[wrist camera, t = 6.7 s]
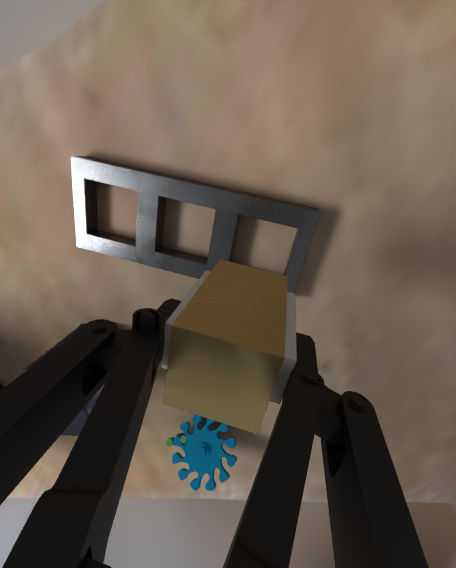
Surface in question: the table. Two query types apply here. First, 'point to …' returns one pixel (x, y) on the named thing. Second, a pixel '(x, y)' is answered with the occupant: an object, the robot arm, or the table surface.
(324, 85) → the table surface
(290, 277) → the grey flat frame
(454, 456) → the table surface
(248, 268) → the olive yellow block
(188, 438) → the gear
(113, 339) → the robot arm
